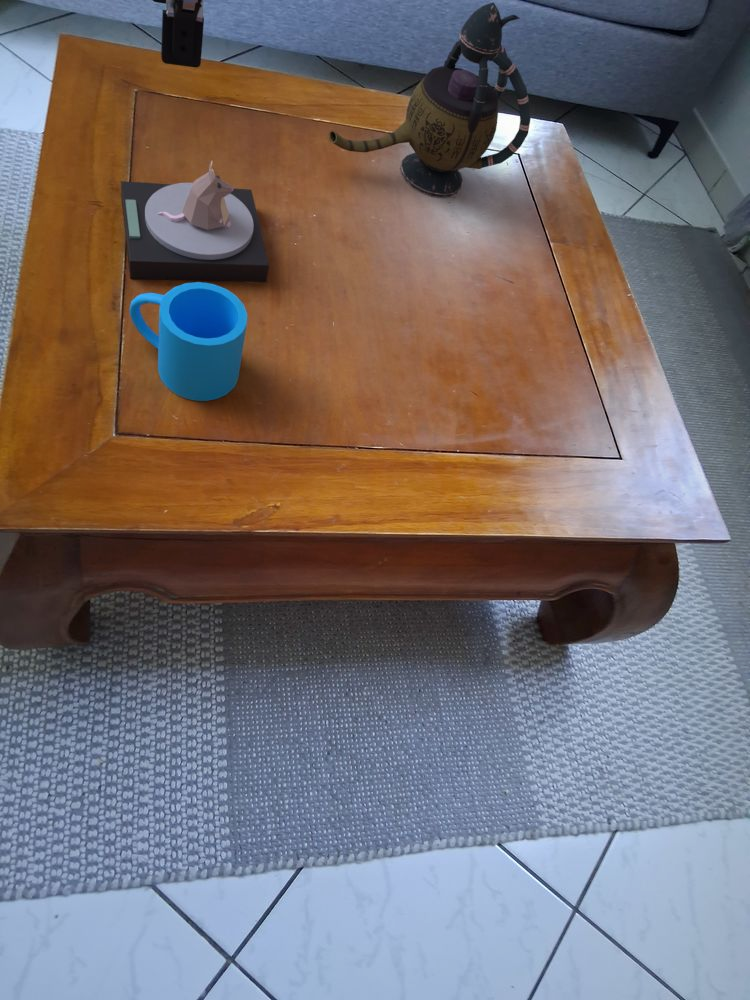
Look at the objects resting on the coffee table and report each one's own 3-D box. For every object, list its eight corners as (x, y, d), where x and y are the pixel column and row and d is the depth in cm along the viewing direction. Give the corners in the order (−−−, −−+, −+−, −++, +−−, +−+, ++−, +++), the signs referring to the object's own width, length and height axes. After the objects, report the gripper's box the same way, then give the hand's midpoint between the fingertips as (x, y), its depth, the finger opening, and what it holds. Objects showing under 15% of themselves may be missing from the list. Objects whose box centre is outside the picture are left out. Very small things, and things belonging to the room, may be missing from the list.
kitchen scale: (130, 278, 83) (129, 255, 80) (121, 199, 89) (120, 174, 86) (266, 282, 88) (270, 259, 85) (249, 206, 94) (252, 183, 91)
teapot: (501, 206, 108) (578, 39, 89) (334, 202, 99) (380, 15, 80) (472, 151, 113) (539, -17, 94) (311, 142, 104) (349, -45, 85)
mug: (252, 363, 81) (262, 307, 74) (214, 413, 76) (220, 358, 70) (152, 312, 81) (153, 252, 74) (108, 359, 76) (104, 300, 70)
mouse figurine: (156, 198, 86) (157, 145, 80) (228, 204, 88) (233, 152, 83) (159, 230, 83) (160, 176, 78) (233, 235, 86) (239, 183, 80)
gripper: (120, -280, 56) (122, -26, 70) (140, -183, 48) (138, 84, 61) (223, -252, 58) (205, -12, 72) (259, -155, 50) (231, 95, 64)
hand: (174, 32), depth 67 cm, fingers open, 9 cm apart
